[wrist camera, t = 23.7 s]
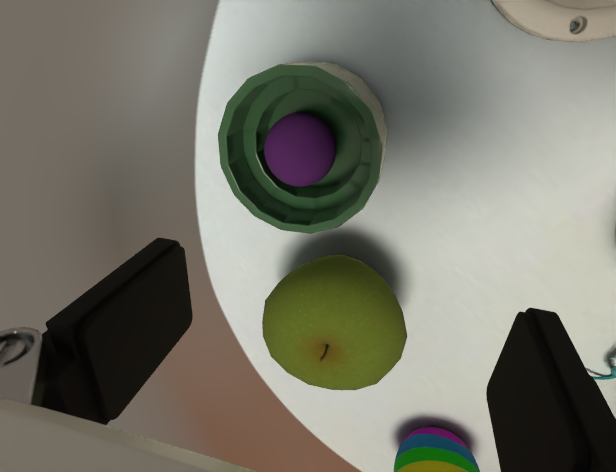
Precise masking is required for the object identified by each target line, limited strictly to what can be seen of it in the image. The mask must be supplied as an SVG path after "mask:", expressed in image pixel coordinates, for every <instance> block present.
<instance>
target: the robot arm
mask: <svg viewBox="0 0 616 472" xmlns="http://www.w3.org/2000/svg"><path fill="white" fill-rule="evenodd" d="M492 1H493V3H494V4H495V6H496V7H497V9H498V11H499V12H500V13H501V14H503V15H504V16H505V17H506V18H507V19H508V20H509V21H510V22H511V23H512V24H513V25H515V26H517V27H519V28H520V29H522V30H524V31H526V32H527V33H529V34H531V35H535V36H538V37H542V38H545V39H549V40H556V41H571V42H574V41H588V40H595V39H600V38H604V37H609V36H614V35H616V0H492ZM572 21H575V22H576V23H577V27H576V28H575V29H574V30H573V31H570V29H569V25H570V23H571V22H572ZM191 322H192V308H191V299H190V291H189V283H188V274H187V267H186V258H185V251H184V248H183V247H181V246H180V244H179V242H178V241H175V240H170V239H164V238H157V239H155V240H154V241H153V242H151V243H150V244H149V245H147V246H146V247H145V248H143V249H142V250H141V251H140V252H138V253H137V254H135V255H134V256H133V257H132V258H130V259H129V260H128V261H126V262H125V263H124V264H122V265H121V266H120V267H119V268H117V269H116V270H114V271H113V272H112V273H110V274H109V275H108V276H107V277H105V278H104V279H103V280H101V281H100V282H99V283H97V284H96V285H95V286H93V287H92V288H91V289H89V290H88V291H87V292H85V293H84V294H83V295H82V296H80V297H79V298H78V299H76V300H75V301H74V302H72V303H71V304H70V305H69V306H67V307H66V308H65V309H63V310H62V311H60V312H59V313H58V314H56V315H55V316H54V317H52V318H51V319H50V320H49V321H47V322H46V326H47V328H48V330H47V331H46V332H44V333H43V334H41V333H40V332H39V331H38V330H35V329H33V328H26V327H20V328H12V329H8V330H4V331H1V332H0V472H257V471H253V470H250V469H247V468H244V467H240V466H237V465H234V464H231V463H227V462H224V461H221V460H218V459H215V458H211V457H208V456H205V455H201V454H198V453H195V452H191V451H189V450H185V449H182V448H179V447H175V446H172V445H169V444H165V443H162V442H159V441H156V440H152V439H149V438H146V437H142V436H139V435H136V434H133V433H129V432H126V431H123V430H119V429H116V428H113V427H109V426H106V425H107V424H108V422H109V421H110V420H114V419H116V418H117V417H118V416H119V415H120V414H121V413H122V411H123V410H124V409H125V408H126V406H127V405H128V404H129V403H130V401H131V400H132V399H133V397H134V396H135V395H136V394H137V392H138V391H139V390H140V389H141V387H142V386H143V385H144V384H145V382H146V381H147V380H148V379H149V377H150V376H151V375H152V374H153V372H154V371H155V370H156V368H157V367H158V366H159V365H160V363H161V362H162V361H163V360H164V358H165V357H166V356H167V355H168V353H169V352H170V351H171V350H172V348H173V347H174V346H175V345H176V343H177V342H178V341H179V340H180V338H181V337H182V336H183V334H184V333H185V332H186V331H187V329H188V328H189V326H190V325H191ZM487 402H488V407H489V412H490V418H491V423H492V428H493V433H494V438H495V443H496V448H497V453H498V458H499V463H500V468H501V472H616V419H615V417H614V416H613V414H612V412H611V410H610V408H609V406H608V404H607V402H606V400H605V398H604V397H603V395H602V393H601V391H600V389H599V387H598V385H597V383H596V382H595V380H594V379H593V377H592V376H590V375H589V374H588V372H587V370H586V368H585V367H584V365H583V363H582V361H581V359H580V357H579V355H578V353H577V351H576V349H575V347H574V345H573V343H572V341H571V339H570V338H569V336H568V334H567V332H566V330H565V328H564V326H563V324H562V322H561V320H560V318H559V316H558V315H557V314H556V313H555V312H550V311H545V310H540V309H535V308H528V309H527V310H526V312H519V313H518V314H517V316H516V318H515V321H514V323H513V325H512V328H511V330H510V333H509V335H508V337H507V340H506V342H505V344H504V347H503V349H502V352H501V354H500V356H499V359H498V361H497V364H496V366H495V368H494V371H493V373H492V376H491V378H490V380H489V383H488V386H487Z"/></svg>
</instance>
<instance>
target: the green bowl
mask: <svg viewBox="0 0 616 472" xmlns="http://www.w3.org/2000/svg"><path fill="white" fill-rule="evenodd" d="M292 113H308V114H311V115H314V116H316V117H318V118H320V119H321V120H322V121H324V122H325V123H326V124H327V126H328V127H329V128H330V130H331V131H332V133H333V136H334V138H335V142H336V157H335V161H334V164H333V166H332V168H331V170H330V171H329V172H328V174H327V175H326V176H325V177H324V178H323V179H321V180H320V181H318V182H317V183H314V184H312V185H308V186H292V185H289V184H286V183H284V182H282V181H281V180H280V179H278V178H277V177H276V176H275V175H274V174H273V173H272V171H271V170H270V168H269V167H268V165H267V162H266V158H265V153H264V147H265V140H266V137H267V134H268V132H269V130H270V129H271V127H272V126H273V125H274V124H275V123H276V122H277V121H278V120H279V119H281V118H282V117H284V116H286V115H289V114H292ZM218 134H219V135H218V141H219V152H220V163H221V168H222V170H223V172H224V174H225V176H226V179H227V181H228V183H229V185H230V187H231V189H232V191H233V194H234V195H235V196H236V197H237V198H238V199H239V200H240V202H241V203H242V204H243V205H244V206H245V207H246V208H247V209H248V210H249V211H250V212H251V213H252V214H253V215H254V216H256V217H257V218H259V219H261V220H263V221H265V222H267V223H269V224H271V225H273V226H275V227H277V228H279V229H282V230H286V231H294V232H301V233H309V234H310V233H315V232H319V231H323V230H327V229H331V228H335V227H339V226H340V225H342V224H343V223H344V222H346V221H347V220H348V219H350V218H351V217H352V216H354V215H355V214H356V213H358V212H359V211H360V210H362V209H363V208H364V206H365V204H366V203H367V201H368V199H369V197H370V196H371V194H372V192H373V190H374V189H375V187H376V185H377V183H378V182H379V178H380V174H381V170H382V165H383V161H384V156H385V147H386V139H387V126H386V122H385V119H384V115H383V112H382V109H381V105H380V102H379V99H378V98H377V97H376V96H375V95H374V93H373V92H372V91H371V90H370V88H369V87H368V86H367V85H366V84H365V82H364V81H363V80H362V79H361V77H359V76H358V75H356V74H354V73H352V72H350V71H348V70H346V69H344V68H342V67H340V66H338V65H336V64H334V63H327V62H298V63H289V64H280V65H277V66H275V67H272V68H270V69H268V70H266V71H263V72H261V73H259V74H257V75H255V76H252V77H250V78H249V79H247V80H246V82H245V83H244V84H243V85H242V86H241V87H240V89H239V90H238V91H237V92H236V93H235V95H234V96H233V97H232V98H231V99H230V100H229V102H228V103H227V105H226V109H225V112H224V116H223V119H222V122H221V126H220V129H219V132H218Z"/></svg>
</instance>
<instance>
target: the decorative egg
mask: <svg viewBox="0 0 616 472" xmlns="http://www.w3.org/2000/svg"><path fill="white" fill-rule="evenodd" d="M394 472H480V470H479V468H478V465H477V463H476V461H475V458H474V456H473V455H472V453H471V452H470V450H469V449H468V447H467V446H466V445H465V444H464V443H463V442H462V440H461V439H459V438H458V437H457V436H456V435H454V434H453V433H451V432H450V431H448V430H445V429H442V428H437V427H423V428H419V429H416V430H414V431H413V432H411V433H410V434H409V435H408V436H407V437H406V438H405V439H404V441H403V442H402V444H401V445H400V448H399V450H398V452H397V455H396V459H395V464H394Z"/></svg>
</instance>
